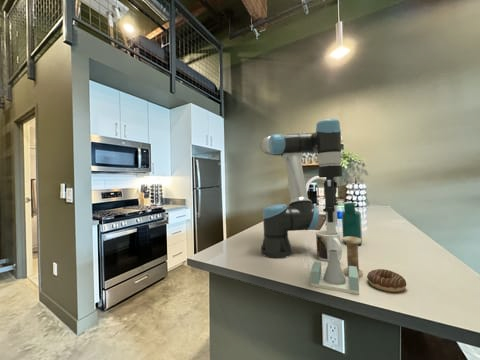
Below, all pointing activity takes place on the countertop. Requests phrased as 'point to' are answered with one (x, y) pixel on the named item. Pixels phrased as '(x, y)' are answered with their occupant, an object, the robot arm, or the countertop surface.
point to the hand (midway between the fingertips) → (332, 227)
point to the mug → (327, 244)
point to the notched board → (348, 286)
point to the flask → (334, 269)
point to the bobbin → (352, 253)
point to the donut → (386, 280)
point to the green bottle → (351, 222)
